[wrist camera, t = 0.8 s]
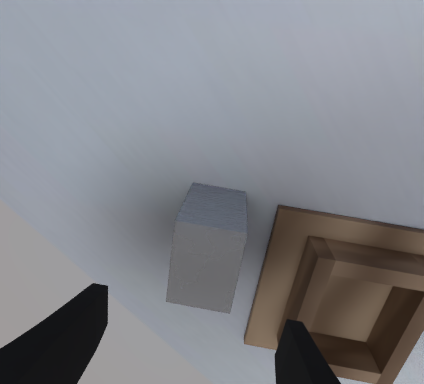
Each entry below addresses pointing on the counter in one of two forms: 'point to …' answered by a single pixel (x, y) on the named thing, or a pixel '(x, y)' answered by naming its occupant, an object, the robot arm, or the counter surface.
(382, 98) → the counter surface
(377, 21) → the counter surface
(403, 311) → the well
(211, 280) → the grey tall block
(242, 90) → the counter surface
